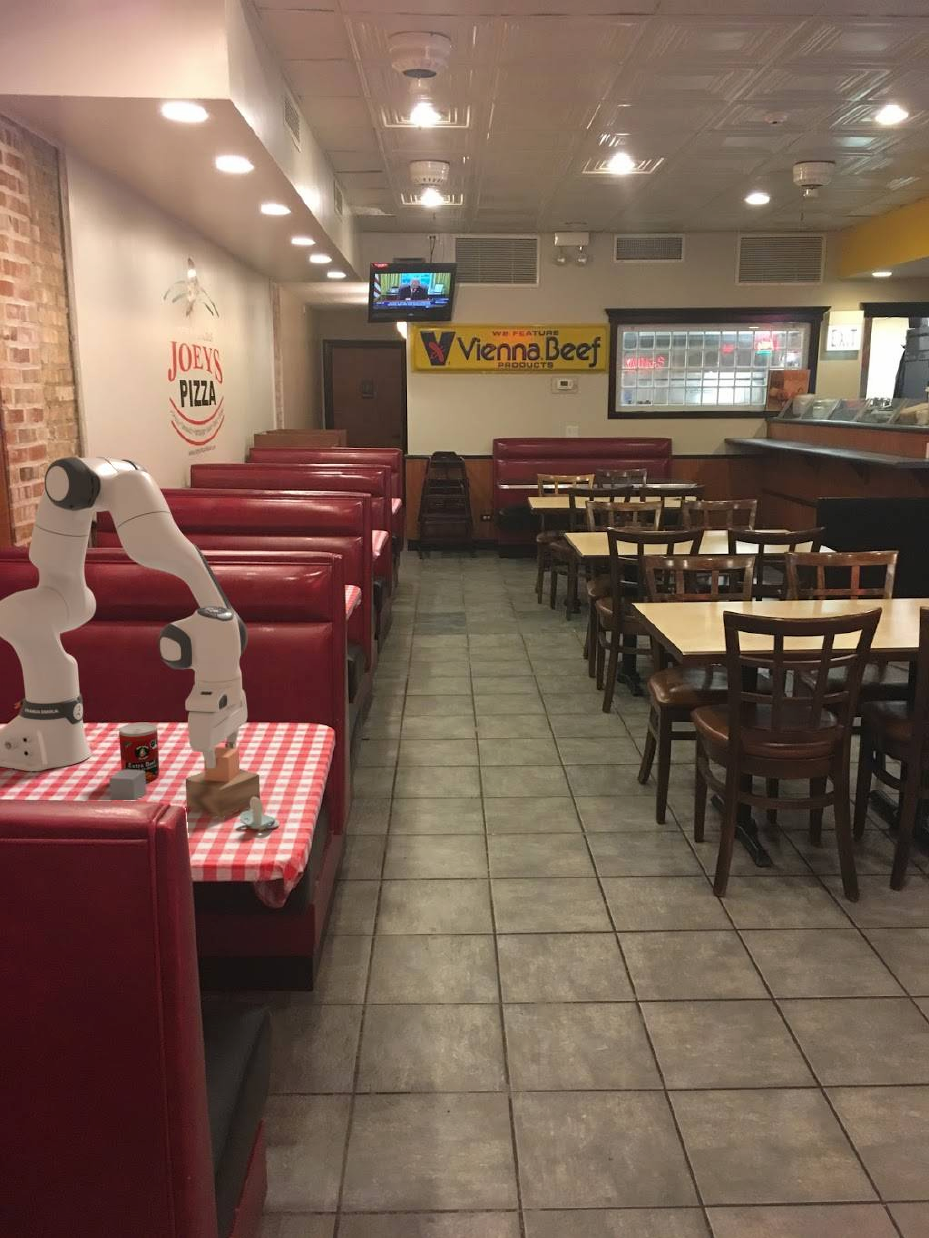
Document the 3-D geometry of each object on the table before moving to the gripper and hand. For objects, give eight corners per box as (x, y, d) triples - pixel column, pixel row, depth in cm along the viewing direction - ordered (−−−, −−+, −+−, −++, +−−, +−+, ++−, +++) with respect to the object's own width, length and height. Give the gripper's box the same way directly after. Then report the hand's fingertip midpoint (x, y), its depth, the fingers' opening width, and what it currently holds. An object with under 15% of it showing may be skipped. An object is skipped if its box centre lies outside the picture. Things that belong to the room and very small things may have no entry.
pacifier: (260, 817, 183) (236, 826, 178) (259, 786, 182) (235, 794, 177) (287, 826, 178) (263, 836, 174) (287, 794, 177) (263, 803, 173)
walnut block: (186, 807, 187) (185, 778, 186) (226, 792, 195) (224, 764, 194) (221, 819, 181) (220, 789, 180) (260, 803, 189) (259, 774, 188)
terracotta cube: (205, 780, 185) (204, 755, 184) (215, 771, 190) (214, 747, 189) (229, 781, 184) (228, 757, 183) (239, 773, 189) (238, 749, 188)
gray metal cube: (111, 801, 189) (109, 778, 188) (123, 792, 194) (121, 769, 193) (134, 803, 188) (133, 779, 187) (146, 793, 193) (145, 770, 192)
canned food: (125, 786, 197) (121, 735, 195) (119, 773, 204) (116, 724, 202) (163, 780, 200) (160, 730, 198) (156, 768, 207) (153, 720, 205)
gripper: (224, 676, 194) (226, 741, 197) (180, 704, 174) (184, 775, 177) (253, 678, 193) (256, 742, 196) (213, 706, 173) (216, 777, 176)
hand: (221, 758), depth 186 cm, fingers open, 8 cm apart
